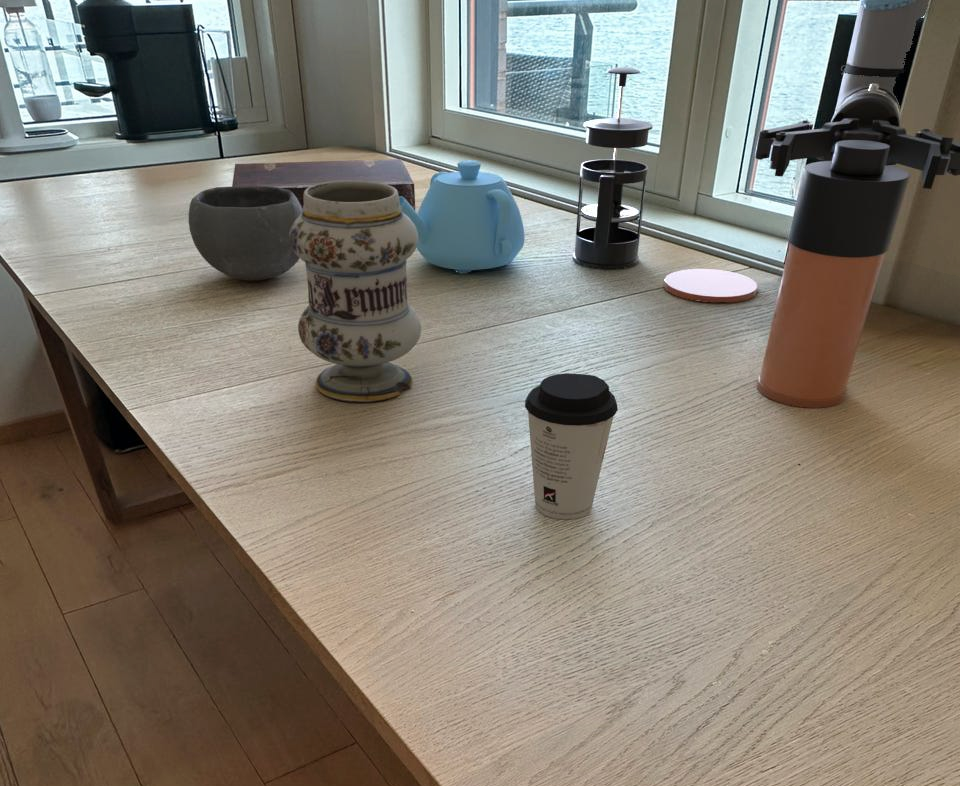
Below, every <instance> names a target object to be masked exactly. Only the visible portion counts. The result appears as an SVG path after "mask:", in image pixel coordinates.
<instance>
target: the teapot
mask: <svg viewBox="0 0 960 786" xmlns="http://www.w3.org/2000/svg"><path fill="white" fill-rule="evenodd" d="M456 164H457V169H458V171H452V172H446V171H438V172H435V173H434V174H433V175H432V176H431V178H430V180H429V181H430V183H429V188H428V189H427V192H426V193H425V196H424V197H423V199H422V201H421V203H420V206H419V209H418V211H416V209H415V210H414V209H413V208H412V206H411V205H410V204H409V203H408V202H407V201H406V199H405V198H404V197H403V196H399V202H400V203H399V204H400V206H401V211H402V212H403V213H404V214H405V215H407V216H408V217H409V218H410V219H411V221H412V222H413V224H414V225H415V227H416V230H417V233H418V244H417V247H416V249H417V251H418V252H419V254H420V255H421V256H422V258H424V259H425V260H426V262H428V263H430V264H431V265H433V266H436V267H440V268H445V269H451V270H454V272H455V271H457V272H459V273H458V274H467V273H466V272H470V273H472V272H473V271H479V270H488V269H496V268H499V267H504V266H503V265H505V266H507V265H508V264H510V263H511V262H512V261H514V259H516V257H517V255H518V254H519V253H520V252H521V251H522V249H523V247H524V245H525V228H524V222H523V217H522V214H521V212H520V211H521V210H520V208H519V206H518V204H517V202H516V200H515V197H514V195H513V194H512V192H511V190H510V188H509V186H508V184H507V182H506V181H505V180H504V179H503V178H502V176H500V175H498V174H495V173H491V172H485V171H480V169H481V165H482V163H481V162H479V161H477V160H460V161H459V162H457V163H456ZM471 271H472V272H471ZM457 272H456V273H457Z"/></svg>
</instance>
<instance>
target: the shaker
mask: <svg viewBox="0 0 960 786" xmlns="http://www.w3.org/2000/svg"><path fill="white" fill-rule="evenodd" d="M788 243H789V244H788V248H787V252H786V257H785V262H784V266H783V269H782V270H783V272H782V275H781V280H780V284H779V289H778V293H777V297H776V303H775V307H774V312H773V315H772V316H773V317H772V320H771V325H770V329H769V334H768V338H767V343H766V348H765V353H764V357H763V362H762V366H761V371H760V374H759V376H758V377H757V380H756V381H757V382H756V388H757V390H758V391H759V393H760V394H761V395H763V396H764V397H766V398H768V399H770V400H772V401H774V402H776V403H780V404H783V405H787V406H791V407H797V408H807V409H818V408H820V409H821V408H829V407H832V406H835V405H838V404H840V403H842V402H843V401H844V400H845V398H846V395H847V391H848V383H849V379H850V376H851V372H852V369H853V365H854V362H855V359H856V355H857V352H858V349H859V345H860V341H861V339H862V338H861V337H862V335H863V331H864V327H865V325H866V322H867V321H866V320H867V317H868V314H869V311H870V308H871V307H870V306H871V303H872V300H873V297H874V294H875V290H876V287H877V282H878V279H879V275H880V272H881V268H882V265H883V263H884V258H885V255H886V252H885V253H883V254H881V255H877V256H870V257H837V256H828V255H822V254H817V253H812V252H808V251H805V250H802V249H799V248H797V247H795V246H793V245H792V244H790V242H788Z"/></svg>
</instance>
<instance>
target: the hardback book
mask: <svg viewBox="0 0 960 786" xmlns="http://www.w3.org/2000/svg"><path fill="white" fill-rule="evenodd" d="M340 180H354V181H369V182H377V183H383V184H387V185H390V186H392V187H394V188H395V189H396V190H397V191H398V195H399V196H403V197H404V198H405V199H406V201H407V202H408V203H409V204H410V205H411V206H412V208H413V209H414V210H415V211H416V193H415V183H414V181H413V179H412V177H411V175H410V172H409V171H408V169H407V168H406V165H405V163H404V162H403V160H402V158H396V159H393V158H391V159H360V160H358V159H357V160H324V161H289V162H287V161H285V162H252V163H234V169H233V176H232V184H231V186H270V187H278V188H282V189H287V190H290V191H291V192H292V193H293V194H294V195H295V196H296V198H297V200H298V201H299V203H300V205H301V207H302V210H303V206H304V191H305V190H306V189H307V188H308V187H311V186H313V185H316V184H320V183H325V182H331V181H340Z"/></svg>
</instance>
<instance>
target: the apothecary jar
mask: <svg viewBox="0 0 960 786" xmlns="http://www.w3.org/2000/svg"><path fill="white" fill-rule="evenodd" d="M399 203H400V202H399V195H398V191H397V190H396V189H395V188H394V187H392V186H390V185H387V184H383V183H377V182H369V181H354V180H340V181H331V182H325V183H320V184H316V185H313V186H311V187H308V188H307V189H306V190H305V191H304V206H303V210H302V214H301V215H300V216H299V217H298V218H297V219H296V220H295V222H294V223H293V225H292V227H291V229H290V233H289V241H290V245H291V248H292V250H293V251H294V253H295V254H296V255H297V256H298V257H299V258H300V259H299V260H301V261H303V262H304V263H305V271H306V279H307V280H306V281H307V291H308V294H307V295H308V305H307V306H306V307H305V309H304V310H303V312H302V313H301V315H300V317H299V320H298V325H297V330H298V335H299V339H300V340H301V343H302V344H303V346H304V347H305V348H306V349H307V350H308V351H309V352H311V353H312V354H313V355H314V356H316V357H317V358H319V359H321V360H323V361H326V362H328V363H332V364H334V365H331V366H329V367H327V368H325V369H324V370H323V371H321V372H320V373H319V375H318V376H317V377H316V380H315V387H316V389H317V391H318V392H319V393H321V394H322V395H324V396H326V397H328V398H330V399H334V400H337V401H342V402H350V403H375V402H381V401H386V400H391V399H393V398H396V397H398V396H400V395H401V393H402V392H403V390H407V389H410V388H411V387H412V385H413V377H412V375H411V373H409V372H408V370H406V369H405V368H403V367H402V366H399V365H397V364H394V363H392V362H393V361H396V360H398V359H400V358H403V356H405V355H407V354H408V353H409V352H410V351H411V350H413V348H414V347H415V346H416V345H417V343H418V342H419V340H420V338H421V334H422V323H421V319H420V316H419V315H418V314H417V312H416V310H415V309H414V307H412V306H411V305H410V304H409V300H408V283H407V282H408V280H407V278H408V277H407V260H408V259H409V258H410V257H411V256H413V254H414V253H415V251H416V249H417V248H416V247H417V244H418V233H417V230H416V227H415V225H414V224H413V222H412V221H411V219H410V218H409V217H408V216H407V215H405V214H404V213H403V212H402V211H401V206H400V204H399Z"/></svg>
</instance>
